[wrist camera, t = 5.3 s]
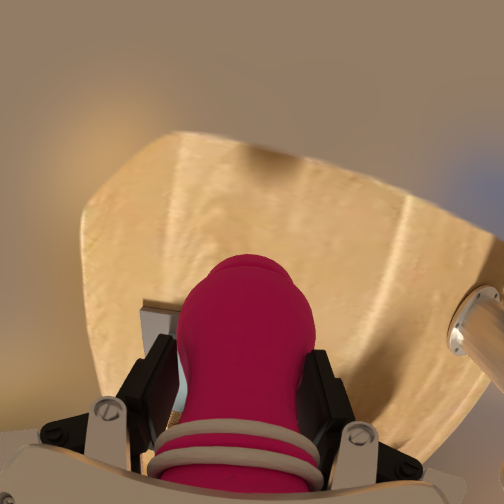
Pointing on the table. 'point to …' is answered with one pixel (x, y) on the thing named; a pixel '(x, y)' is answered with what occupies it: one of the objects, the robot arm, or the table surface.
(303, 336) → the pepper mill
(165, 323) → the pedestal board
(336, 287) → the table surface
